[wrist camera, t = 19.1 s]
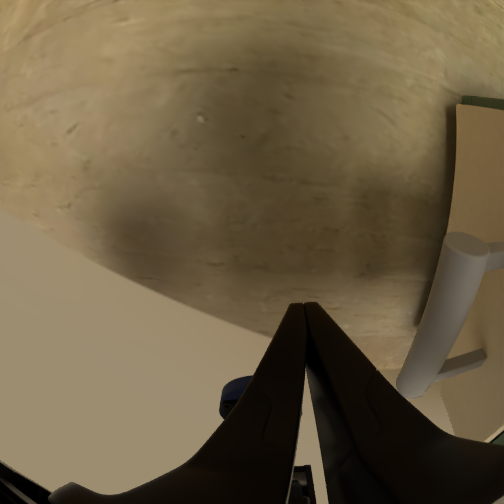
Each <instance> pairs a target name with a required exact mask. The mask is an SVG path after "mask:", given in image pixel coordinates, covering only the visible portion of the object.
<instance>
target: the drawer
mask: <svg viewBox="0 0 504 504" xmlns="http://www.w3.org/2000/svg"><path fill="white" fill-rule="evenodd" d="M456 118H457V141H456V164H455V177H454V187H453V195H452V203H451V210H450V216H449V222H448V228H447V233H446V235H445V237H444V239H443V244H442V249H441V253H440V258H439V262H438V266H437V270H436V274H435V277H434V281H433V285H432V288H431V291H430V295H429V298H428V301H427V304H426V307H425V310H424V313H423V316H422V319H421V322H420V325H419V327H418V330H417V333H416V335H415V338H414V341H413V343H412V346H411V348H410V350H409V353H408V355H407V358H406V360H405V362H404V364H403V367H402V369H401V371H400V373H399V375H398V378H397V380H396V387H397V390H398V392H399V393H400V394H401V395H402V396H404V397H405V398H409V399H417V398H419V397H421V396H423V395H424V394H425V393H426V392H427V390H428V389H429V387H430V385H431V384H432V383H434V382H436V383H437V386H438V388H439V391H440V394H441V396H442V398H443V402H444V404H445V407H446V410H447V413H448V415H449V418H450V421H451V424H452V428H453V430H454V434H455V436H456V437H461V438H465V439H470V440H475V441H481V442H486V443H489V442H490V441H491V440H493V439H494V438H495V437H496V436H497V435H498V434H500V433H501V432H502V431H504V111H503V110H498V109H492V108H485V107H478V106H471V105H462V104H456Z"/></svg>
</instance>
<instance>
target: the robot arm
mask: <svg viewBox="0 0 504 504" xmlns="http://www.w3.org/2000/svg"><path fill="white" fill-rule="evenodd" d="M305 369H306V372H307V378H308V383H309V388H310V393H311V399H312V404H313V410H314V415H315V420H316V426H317V432H318V438H319V443H320V450H321V456H322V462H323V468H324V475H325V481H326V485H327V486H326V488H327V495H328V502H329V504H504V445H499V444H493V443H486V442H481V441H475V440H470V439H465V438H461V437H456V436H453V435H451V434H448V433H446V432H444V431H443V430H441V429H440V428H438V427H437V426H436V425H435V424H434V423H432V422H431V421H430V420H429V419H428V418H427V417H426V416H424V415H423V414H422V413H421V412H420V411H419V410H418V409H417V408H415V407H414V406H413V405H412V404H411V403H410V402H408V401H407V400H406V399H405V398H404V397H403V396H402V395H401V394H400V393H399V392H398V391H397V390H396V389H395V388H394V387H393V386H392V385H391V384H390V383H389V382H388V381H387V380H386V379H385V378H384V377H383V375H382V374H381V373H380V372H379V371H378V370H376V367H375V366H374V365H373V364H372V363H371V362H370V361H369V359H368V358H367V357H366V356H365V355H364V354H363V353H362V352H361V350H360V349H359V348H358V347H357V346H356V345H355V344H354V343H353V341H352V340H351V339H350V338H349V337H348V336H347V335H346V334H345V333H344V331H343V330H342V329H341V328H340V327H339V326H338V325H337V324H336V323H335V321H334V320H333V319H332V318H331V317H330V316H329V315H328V314H327V313H326V311H325V310H324V309H323V308H322V307H321V306H320V305H319V304H318V303H317V302H305V303H304V304H303V303H291V304H290V305H289V307H288V309H287V311H286V313H285V315H284V317H283V319H282V321H281V323H280V325H279V327H278V329H277V331H276V333H275V335H274V337H273V339H272V341H271V343H270V345H269V347H268V348H267V351H266V352H265V354H264V356H263V358H262V360H261V362H260V363H259V366H258V367H257V369H256V371H255V373H254V375H253V376H252V378H251V381H250V382H249V383H248V385H247V387H246V389H245V391H244V392H243V394H242V396H241V397H240V399H239V400H223V401H222V408H223V410H224V413H225V415H226V419H225V420H224V421H223V422H222V424H221V425H220V426H219V427H218V428H217V430H216V431H215V432H214V433H213V434H212V436H211V437H210V438H209V439H208V440H207V441H206V443H205V444H204V445H203V446H202V447H201V448H200V449H199V451H198V452H197V453H196V454H195V455H194V456H193V457H192V458H190V459H189V460H188V461H187V462H186V463H184V464H183V465H181V466H179V467H178V468H176V469H174V470H172V471H170V472H168V473H166V474H164V475H162V476H160V477H158V478H156V479H154V480H152V481H150V482H147V483H145V484H143V485H141V486H138V487H136V488H134V489H131V490H129V491H127V492H124V493H121V494H116V495H103V494H99V493H96V492H93V491H91V490H89V489H87V488H85V487H83V486H81V485H78V484H76V483H74V482H70V483H68V484H66V485H64V486H62V487H60V488H58V489H57V490H55V491H54V492H51V491H49V490H48V489H46V488H44V487H42V486H41V485H39V484H37V483H36V482H34V481H33V480H31V479H29V478H27V477H26V476H24V475H22V474H21V473H19V472H17V471H16V470H14V469H13V468H11V467H10V466H8V465H7V464H5V463H4V462H2V461H1V460H0V504H316V497H315V491H314V484H313V478H312V471H311V465H304V466H294V463H295V457H296V450H297V442H298V435H299V427H300V419H301V411H302V401H303V391H304V381H305Z"/></svg>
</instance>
